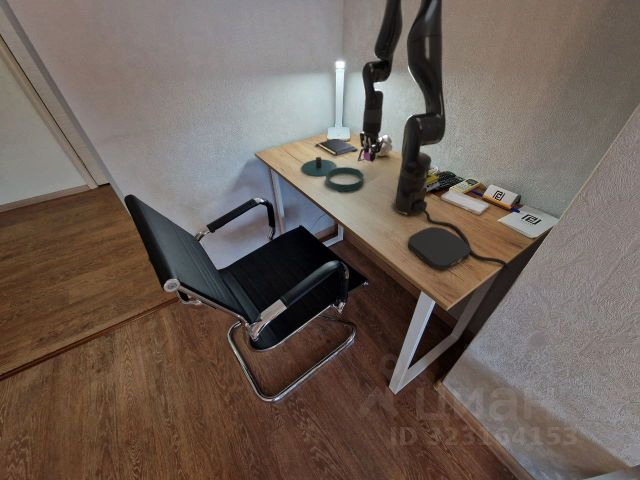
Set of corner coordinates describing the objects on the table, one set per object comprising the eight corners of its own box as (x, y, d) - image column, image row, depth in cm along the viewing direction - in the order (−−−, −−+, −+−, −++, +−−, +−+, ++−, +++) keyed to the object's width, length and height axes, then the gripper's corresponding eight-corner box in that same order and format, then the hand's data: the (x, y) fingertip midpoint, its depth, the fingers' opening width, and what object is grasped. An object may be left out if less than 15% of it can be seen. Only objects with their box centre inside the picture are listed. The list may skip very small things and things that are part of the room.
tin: (370, 185, 112) (371, 177, 110) (338, 196, 107) (338, 188, 104) (349, 170, 123) (350, 163, 120) (319, 180, 117) (319, 173, 115)
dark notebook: (358, 147, 139) (334, 154, 133) (358, 150, 140) (334, 157, 135) (337, 136, 152) (315, 142, 147) (337, 139, 153) (315, 145, 148)
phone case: (488, 207, 96) (450, 192, 105) (489, 204, 95) (451, 189, 104) (478, 215, 93) (440, 199, 102) (480, 212, 92) (440, 196, 101)
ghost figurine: (386, 160, 129) (388, 140, 122) (369, 156, 133) (370, 137, 127) (394, 154, 134) (397, 134, 127) (377, 150, 139) (379, 131, 132)
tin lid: (343, 171, 123) (343, 160, 119) (311, 181, 117) (310, 169, 114) (325, 158, 134) (325, 147, 131) (295, 167, 129) (294, 156, 125)
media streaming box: (435, 229, 88) (438, 222, 86) (473, 255, 78) (477, 248, 76) (402, 244, 83) (403, 237, 81) (438, 274, 73) (440, 267, 71)
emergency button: (427, 182, 103) (399, 169, 112) (425, 192, 106) (398, 178, 115) (443, 175, 106) (414, 163, 116) (440, 185, 109) (412, 172, 119)
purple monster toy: (377, 143, 116) (360, 148, 113) (383, 151, 114) (366, 156, 111) (373, 155, 122) (356, 160, 119) (378, 163, 120) (362, 167, 117)
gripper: (354, 116, 110) (353, 155, 121) (375, 126, 100) (372, 167, 112) (369, 113, 112) (366, 152, 124) (391, 122, 103) (385, 162, 114)
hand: (369, 159), depth 118 cm, fingers closed on purple monster toy, 4 cm apart
